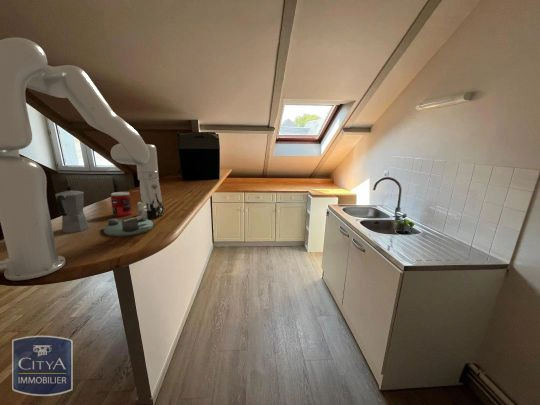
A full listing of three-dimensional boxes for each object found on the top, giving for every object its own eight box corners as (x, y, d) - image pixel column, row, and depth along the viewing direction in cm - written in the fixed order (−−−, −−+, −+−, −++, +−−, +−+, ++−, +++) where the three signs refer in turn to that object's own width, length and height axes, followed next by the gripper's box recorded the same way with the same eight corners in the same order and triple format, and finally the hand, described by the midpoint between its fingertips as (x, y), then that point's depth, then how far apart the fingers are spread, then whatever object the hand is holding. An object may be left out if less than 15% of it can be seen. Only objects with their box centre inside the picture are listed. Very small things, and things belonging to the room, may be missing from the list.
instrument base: (104, 239, 91) (103, 230, 90) (103, 225, 105) (102, 218, 105) (156, 231, 101) (155, 223, 100) (149, 219, 115) (148, 212, 114)
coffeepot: (70, 224, 106) (63, 183, 102) (95, 223, 108) (89, 183, 104) (49, 237, 92) (40, 190, 87) (78, 236, 94) (70, 190, 90)
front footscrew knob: (129, 232, 94) (128, 218, 93) (119, 230, 96) (117, 216, 94) (155, 222, 106) (154, 210, 104) (145, 221, 108) (144, 208, 106)
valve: (134, 217, 119) (159, 218, 119) (133, 204, 117) (157, 204, 117) (142, 213, 125) (165, 214, 125) (140, 201, 124) (164, 201, 123)
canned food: (114, 213, 124) (111, 192, 121) (132, 212, 127) (130, 191, 124) (112, 217, 117) (109, 195, 114) (131, 216, 120) (128, 194, 118)
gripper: (165, 176, 96) (169, 221, 101) (150, 173, 106) (153, 213, 110) (146, 178, 91) (150, 225, 95) (131, 174, 101) (136, 217, 105)
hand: (152, 218), depth 103 cm, fingers closed
